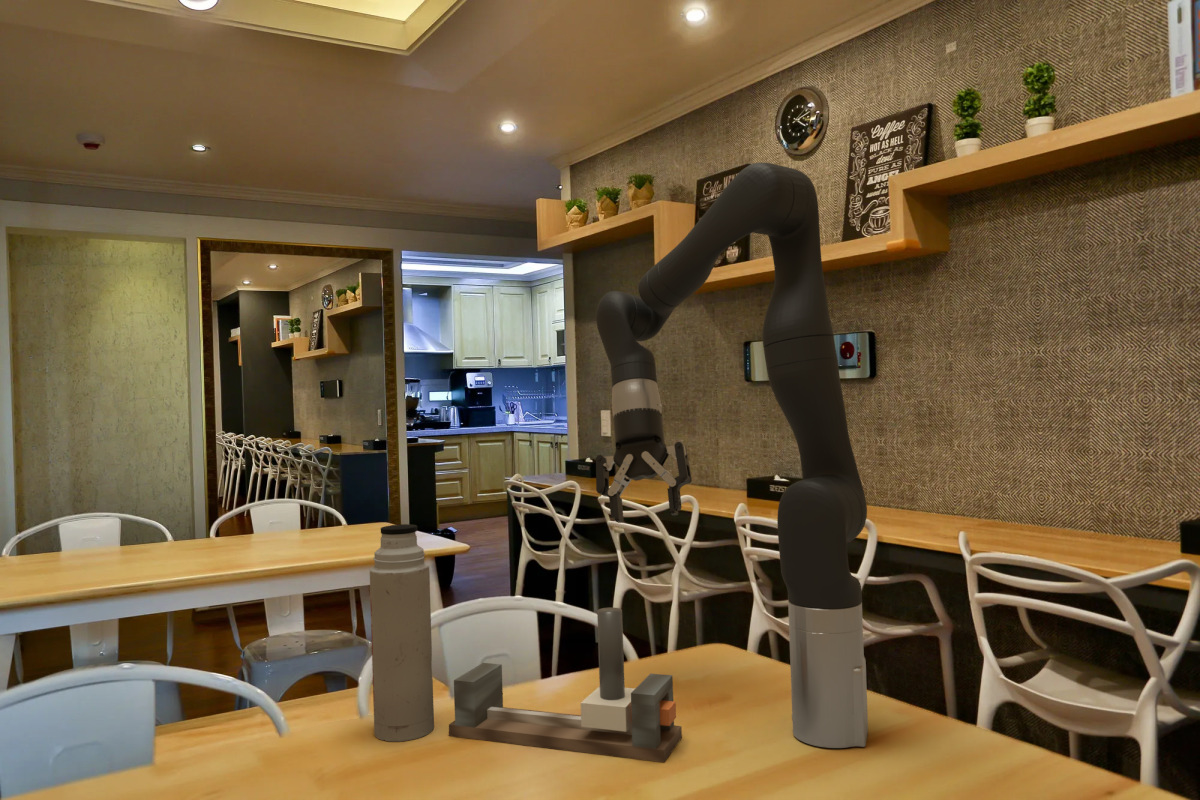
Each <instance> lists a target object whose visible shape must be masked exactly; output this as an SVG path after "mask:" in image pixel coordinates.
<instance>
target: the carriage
mask: <svg viewBox="0 0 1200 800" xmlns="http://www.w3.org/2000/svg"><path fill="white" fill-rule="evenodd" d="M596 612H597V616H596V617H597V618H596V619H597V644H598V648H597V649H598V671H599V673H598V675H599V686H598V687H597V688H596V689H594V691H592V692H591V693H590V694H589V695H587V696H586V697H585V698H584V699H583V700H582V701H581V702H580V715H581V727H589V728H598V729H607V730H616V731H625V732H626V731H627V730H628V729H629V728H630V727H631V726H632V722H631V692H632V691H633V690H634V689H635V688H636V687H635V688H632V687H625V659H624V656H625V655H624V634H623V633H624V628H623V627H624V626H623V609H622V608H620V607H603V608H598V609H597V610H596Z"/></svg>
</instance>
